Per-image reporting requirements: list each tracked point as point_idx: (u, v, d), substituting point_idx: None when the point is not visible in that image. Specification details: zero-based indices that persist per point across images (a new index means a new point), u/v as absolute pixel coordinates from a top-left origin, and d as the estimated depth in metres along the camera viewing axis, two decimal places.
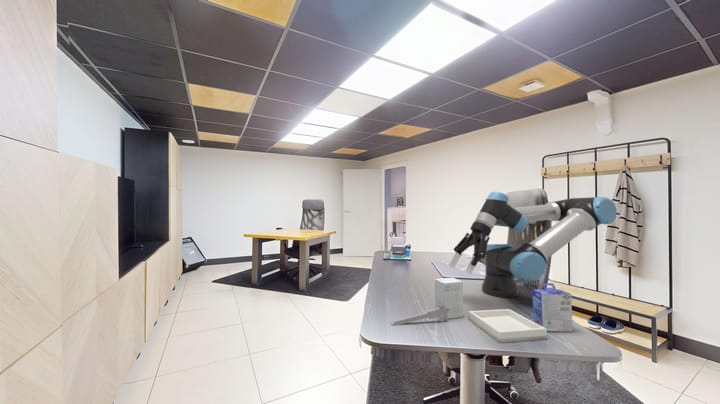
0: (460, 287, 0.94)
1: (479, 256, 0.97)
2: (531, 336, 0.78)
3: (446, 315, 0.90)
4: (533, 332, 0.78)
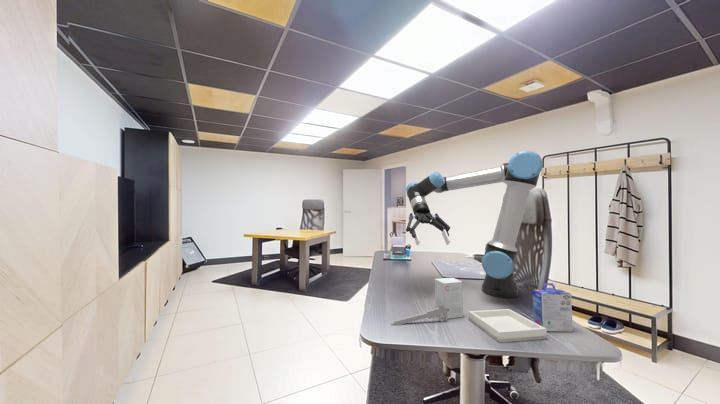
0: (460, 287, 0.94)
1: (408, 230, 1.13)
2: (531, 336, 0.78)
3: (446, 315, 0.90)
4: (533, 332, 0.78)
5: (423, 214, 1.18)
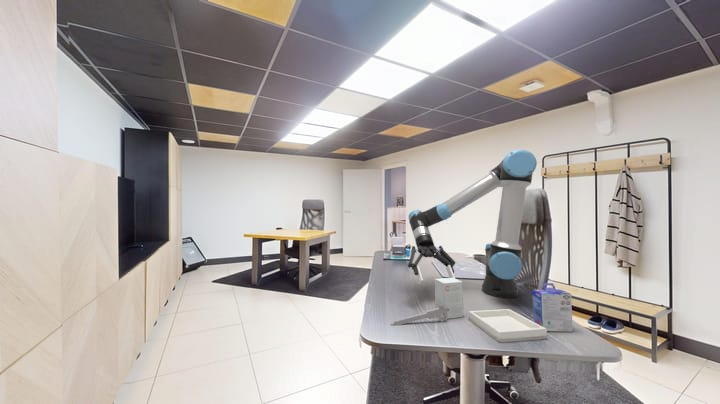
0: (460, 287, 0.94)
1: (410, 266, 1.06)
2: (531, 336, 0.78)
3: (446, 315, 0.90)
4: (533, 332, 0.78)
5: (426, 247, 1.11)
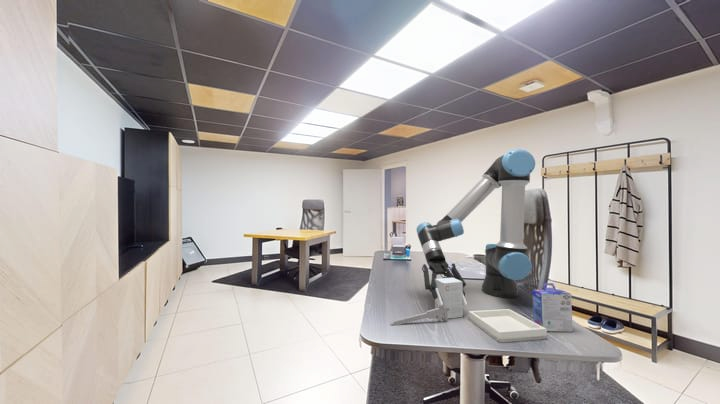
0: (460, 287, 0.94)
1: (427, 288, 0.97)
2: (531, 336, 0.78)
3: (446, 315, 0.90)
4: (533, 332, 0.78)
5: (438, 263, 1.03)
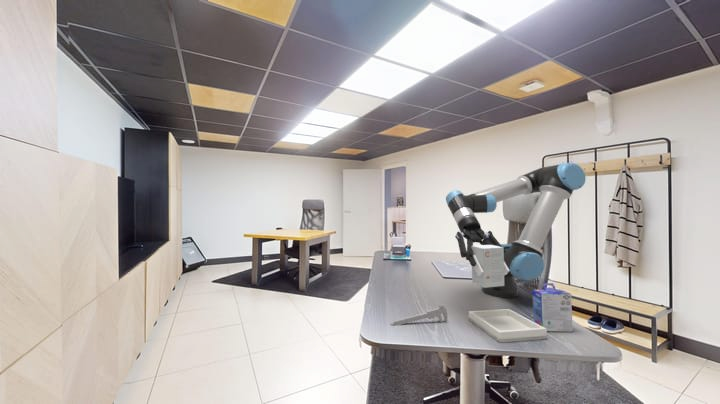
0: (501, 253, 0.86)
1: (464, 256, 0.89)
2: (531, 336, 0.78)
3: (446, 315, 0.90)
4: (533, 332, 0.78)
5: (473, 231, 0.95)
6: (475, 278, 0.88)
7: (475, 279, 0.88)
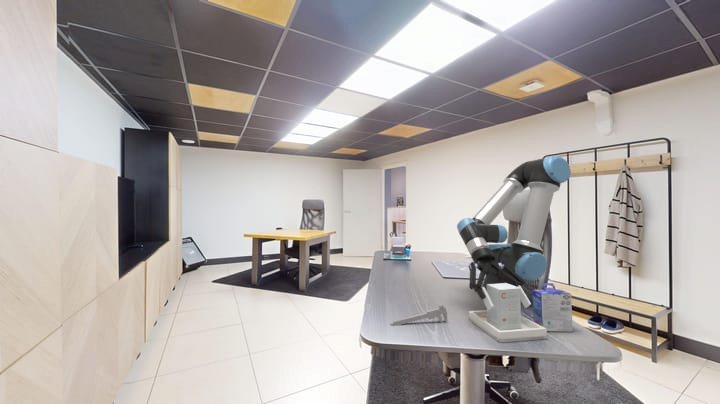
0: (518, 294, 0.83)
1: (473, 288, 0.87)
2: (531, 336, 0.78)
3: (446, 315, 0.90)
4: (533, 332, 0.78)
5: (488, 263, 0.92)
6: (490, 318, 0.86)
7: (490, 320, 0.86)
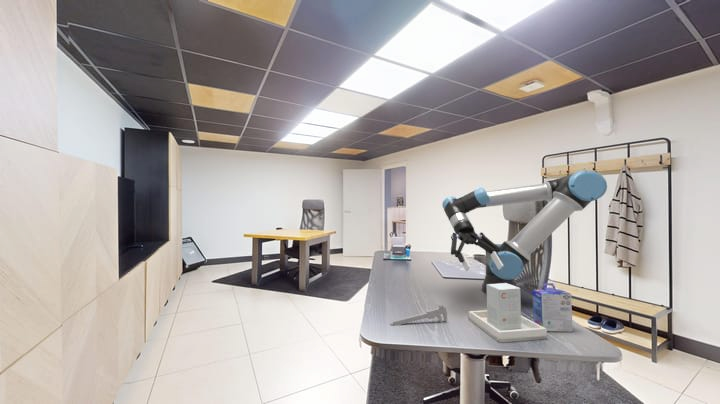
0: (518, 294, 0.83)
1: (453, 253, 1.00)
2: (531, 336, 0.78)
3: (446, 315, 0.90)
4: (533, 332, 0.78)
5: (468, 234, 1.05)
6: (490, 318, 0.86)
7: (490, 320, 0.86)
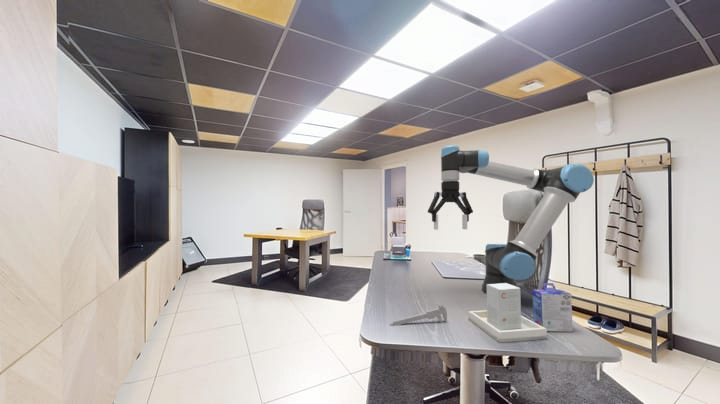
0: (518, 294, 0.83)
1: (429, 212, 1.12)
2: (531, 336, 0.78)
3: (445, 315, 0.90)
4: (533, 332, 0.78)
5: (450, 195, 1.12)
6: (490, 318, 0.86)
7: (490, 320, 0.86)
